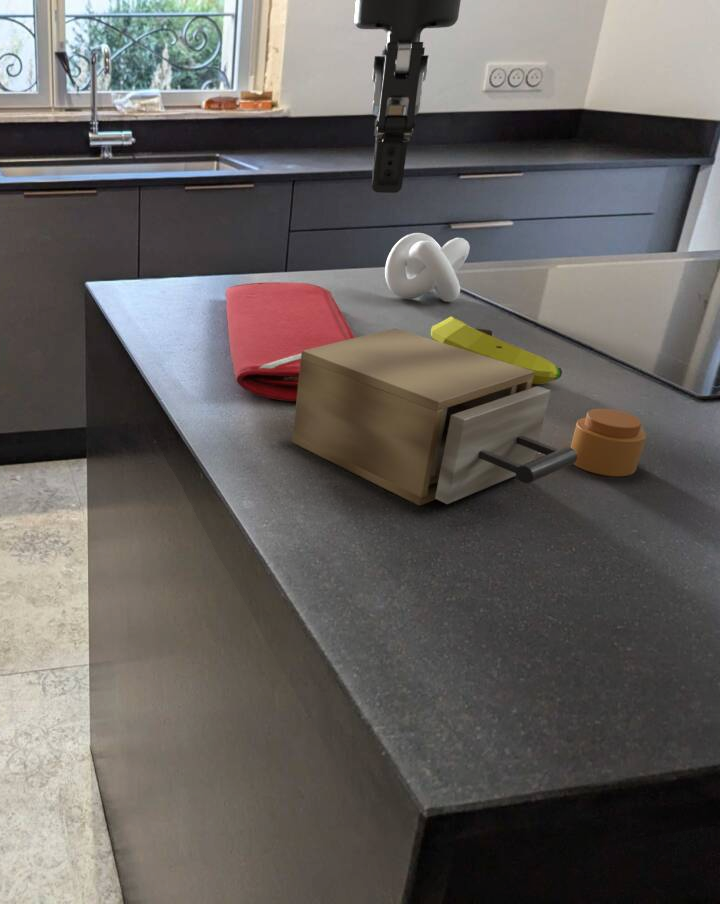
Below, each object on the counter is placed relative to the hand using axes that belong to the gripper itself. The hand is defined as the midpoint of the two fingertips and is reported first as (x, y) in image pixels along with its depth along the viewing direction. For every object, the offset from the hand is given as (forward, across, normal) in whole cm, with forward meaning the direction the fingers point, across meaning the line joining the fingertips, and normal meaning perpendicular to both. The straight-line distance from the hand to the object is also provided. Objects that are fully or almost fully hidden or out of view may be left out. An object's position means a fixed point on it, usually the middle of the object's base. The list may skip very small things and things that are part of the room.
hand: (385, 184), depth 68 cm
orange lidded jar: (+24, +2, -22) cm, 32 cm away
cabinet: (+23, -2, -4) cm, 24 cm away
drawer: (+23, -5, -8) cm, 24 cm away
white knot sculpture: (+24, +58, -10) cm, 64 cm away
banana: (+24, +29, -16) cm, 41 cm away
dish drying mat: (+24, +28, +8) cm, 38 cm away
